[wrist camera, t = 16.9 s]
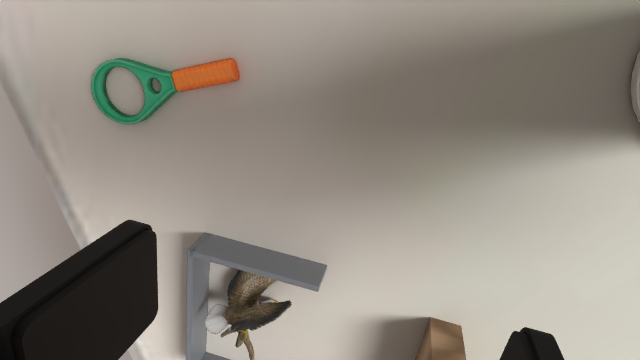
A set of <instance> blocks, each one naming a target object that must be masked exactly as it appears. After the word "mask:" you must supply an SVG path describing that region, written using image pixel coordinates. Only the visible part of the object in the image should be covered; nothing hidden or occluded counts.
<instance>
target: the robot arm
mask: <svg viewBox="0 0 640 360" xmlns="http://www.w3.org/2000/svg"><path fill="white" fill-rule="evenodd" d="M631 98H632V105H633V109H634V111H635V114H636V116H637V119H638V121H639V123H640V51H639V53H638V55H637V59H636V62H635V65H634V69H633V72H632V79H631ZM157 311H158V282H157V239H156V234H155V232H153V231H152V228H151V226H150V225H148V224H144V223H141V222H137V221H133V220H127V221H125V222H123V223H122V224H120V225H118V226H117V227H115V228H114V229H112V230H111V231H109V232H108V233H106V234H105V235H103V236H102V237H100V238H99V239H97V240H96V241H94V242H93V243H91V244H90V245H88V246H86V247H85V248H83V249H82V250H80V251H79V252H77V253H76V254H74V255H73V256H71V257H70V258H69V259H67V260H65V261H64V262H62V263H61V264H59V265H58V266H56V267H55V268H53V269H51V270H50V271H48V272H47V273H45V274H44V275H42V276H41V277H39V278H38V279H36V280H35V281H33V282H32V283H30V284H29V285H27V286H26V287H24V288H22V289H21V290H19V291H18V292H17V293H15V294H13V295H12V296H10V297H9V298H7V299H6V300H4V301H3V302H1V303H0V360H118V359H119V358H120V357H121V356H122V355H123V354H124V353H125V352H126V350H127V349H128V348H129V347H130V346H131V345H132V344H133V343H134V342H135V340H136V339H137V338H138V337H139V336H140V335H141V334H142V333H143V332H144V331H145V329H146V328H147V327H148V326H149V325H150V324H151V323H152V322H153V320H154V319H155V317H156V314H157ZM500 360H564V358H563V356H562V354H561V351H560V349H559V347H558V345H557V342H556V340H555V338H554V337H553V335H551V334H549V333H545V332H541V331H538V330H534V329H530V328H527V327H524V328H523V329H521V331H520V332H517V331H514V332H513V333H512V334H511V336H510V338H509V340H508V343H507V345H506V347H505V349H504V351H503V353H502V356H501V358H500Z"/></svg>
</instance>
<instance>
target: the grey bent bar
mask: <svg viewBox="0 0 640 360" xmlns="http://www.w3.org/2000/svg"><path fill="white" fill-rule="evenodd" d="M210 262H214V263H217V264H221V265H224V266H228V267H231V268H235V269H239V270H242V271H246V272H249V273H253V274H256V275H260V276H264V277H267V278H271V279H274V280H278V281H281V282H285V283H288V284H292V285H296V286H299V287H303V288H306V289H310V290H313V291H317V292H318V291H319V288H320V285H321V283H322V280H323V277H324V275H325V272H326V269H327V265H324V264H320V263H316V262H312V261H309V260H305V259H301V258H298V257H294V256H290V255H286V254H283V253H279V252H275V251H272V250H268V249H264V248H260V247H257V246H253V245H249V244H245V243H242V242H238V241H234V240H231V239H227V238H223V237H219V236H216V235H212V234H208V233H205V234H204V235H203V236H202V237H201V238H200V239H199V240H198V241H197V242H195V243H194V244H193V245H192V246H191V247H190V248H189V249H188V259H187V326H186V360H229V359H226V358H223V357H219V356H216V355H213V354H210V353H207V352H206V336H207V328H206V325H205V320H206V318H207V312H208V288H209V265H210Z"/></svg>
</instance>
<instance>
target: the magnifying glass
mask: <svg viewBox="0 0 640 360" xmlns="http://www.w3.org/2000/svg"><path fill="white" fill-rule="evenodd" d="M116 66H122V67H125V68H127V69H129V70H131V71H132V72H133V73H134V74H135V75H136V76H137V77H138V79H139V80H140V82H141V83H142V86H143V89H144V92H145V105H144V108H143V110H142V111H141V112H140V114H138V115H136V116H130V115H126V114H124V113H122V112H120V111H119V110H118V109H116V108H115V106H114V105H113V104H112V103H111V101H110V99H109V97H108V95H107V91H106V78H107V75H108V73H109V72H110V70H112V69H113V68H114V67H116ZM154 78H156V79H158V80H159V82H160V84H161V91H160V93H159V92H157V91H156V90H155V89H154V88H153V85H152V81H153V79H154ZM237 80H239V71H238V67H237V63H236V61H235V60H234V59H232V58H230V59H225V60H220V61H215V62H210V63H206V64H202V65H197V66H193V67H188V68H183V69H178V70H175V71H174V72H168V71H165V70H162V69H159V68H156V67H152V66H149V65H146V64H143V63H140V62H136V61H133V60H130V59H125V58H118V59H113V60H109V61H106V62H104V63H103V64H101V65H100V66H99V67H98V68H97V70H96V71H95V73H94V75H93V78H92V84H91V87H92V94H93V97H94V100H95V102H96V104H97V106H98V107H99V109H100V110H101V111H102V112H103V113H104V114H105V115H106V116H107V117H108V118H110V119H112V120H114V121H116V122H118V123H122V124H135V123H138V122H141V121H143V120H145V119H147V118H148V117H150V116H151V115H152V114H153V113H154V112H155V111H156V110H157V109H158V108H159V107H160V106H161V105H163V104H164V103H165V102H166V101H167V100H168V99H169V98H170V97H171V96H172V95H173V94H174V93H175V92H177V91H187V90H192V89H198V88H203V87H208V86H213V85H218V84H223V83H229V82H233V81H237Z"/></svg>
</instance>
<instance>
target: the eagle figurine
mask: <svg viewBox="0 0 640 360" xmlns="http://www.w3.org/2000/svg"><path fill="white" fill-rule="evenodd" d="M275 281H277V280H274V279H271V278H267V277H264V276H260V275H256V274H253V273H249V272H246V271H242V270H238V272H237V274H236V275H235V276H234V278H233V280H231V282H230V285H229V289H228V300H229V303H228V304H229V307H227V306H224V305H221V304H217V305H215V306H214V307H213V308H212V309H211V311H210V313H209V314H208V315H207V318H206V320H205V325H206V328H207V329H208V331H209V332H211V333H213V334H218V333H220V332H221V331H222V330H223V329H224V328H225V327H226V326H227V325H228V324H231V325H232V326H231V328H228V329H227V330H226V331H225V332H223V333H222V334H221V337H224V336H225V335H227V334H229V333H232V332H236V331H237V332H238V333H239V334H238V337H237V341H236V347H239V346H241V345H242V344H243V342H244V343H245V345H246V347H247V349H248V352H249V357H250V360H254V350H253V346H252V344H251V342H250V340H249V335H248V331H247V329H250V330H254V329H255V330H256V329H257V328H258V327H259V328H260V327H261V326H264V325H266V324H268V323H270V322H272V321H274V320H276V319H277V318H278V317H279V316H281V315H282V313H283V312H285V311H286V310H287V309H288V308H289V307H290V306H291V305H292V304H291V302H290V300H289V301H286V302H278V301H273V300H271V299H270V300H266V301H263V302H258V299H259V297H260V295H261V294H262V293H263V291H264V290H265V289H266V288H267V287H268V286H269V285H270V284H272V283H274V282H275Z"/></svg>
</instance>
